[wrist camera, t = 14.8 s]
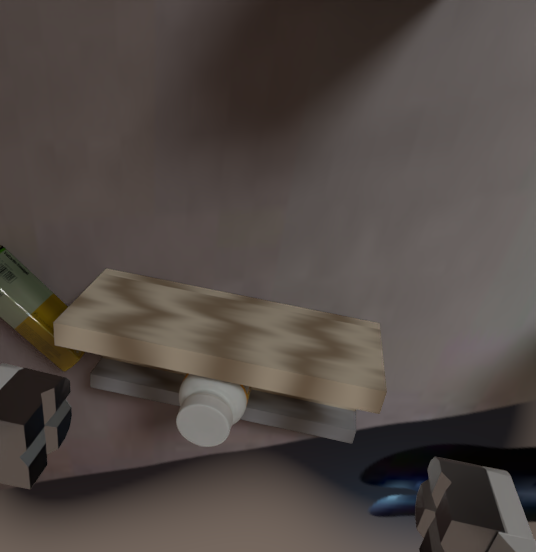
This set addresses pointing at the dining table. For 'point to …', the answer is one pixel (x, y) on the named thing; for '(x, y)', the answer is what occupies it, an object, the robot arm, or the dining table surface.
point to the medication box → (32, 310)
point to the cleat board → (228, 350)
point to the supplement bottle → (209, 409)
